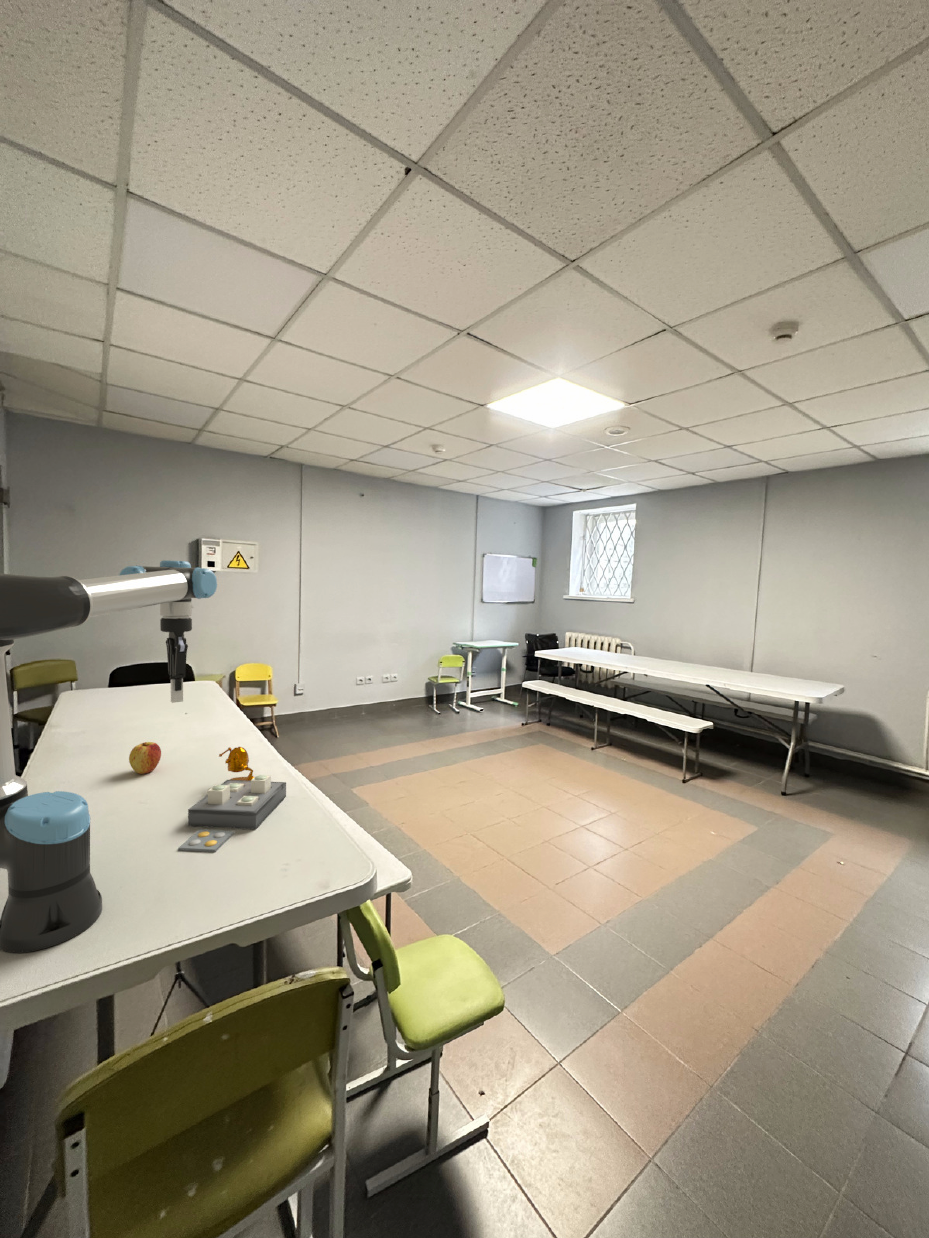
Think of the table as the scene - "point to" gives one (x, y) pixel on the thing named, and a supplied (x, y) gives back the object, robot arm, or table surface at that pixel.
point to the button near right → (247, 800)
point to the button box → (237, 808)
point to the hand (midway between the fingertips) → (176, 701)
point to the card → (206, 840)
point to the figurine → (238, 762)
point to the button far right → (261, 784)
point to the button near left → (219, 794)
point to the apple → (145, 757)
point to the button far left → (235, 787)
